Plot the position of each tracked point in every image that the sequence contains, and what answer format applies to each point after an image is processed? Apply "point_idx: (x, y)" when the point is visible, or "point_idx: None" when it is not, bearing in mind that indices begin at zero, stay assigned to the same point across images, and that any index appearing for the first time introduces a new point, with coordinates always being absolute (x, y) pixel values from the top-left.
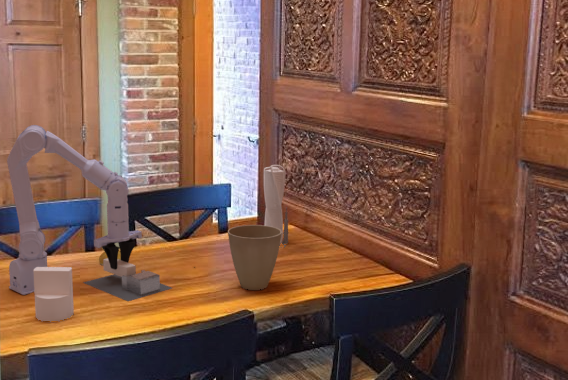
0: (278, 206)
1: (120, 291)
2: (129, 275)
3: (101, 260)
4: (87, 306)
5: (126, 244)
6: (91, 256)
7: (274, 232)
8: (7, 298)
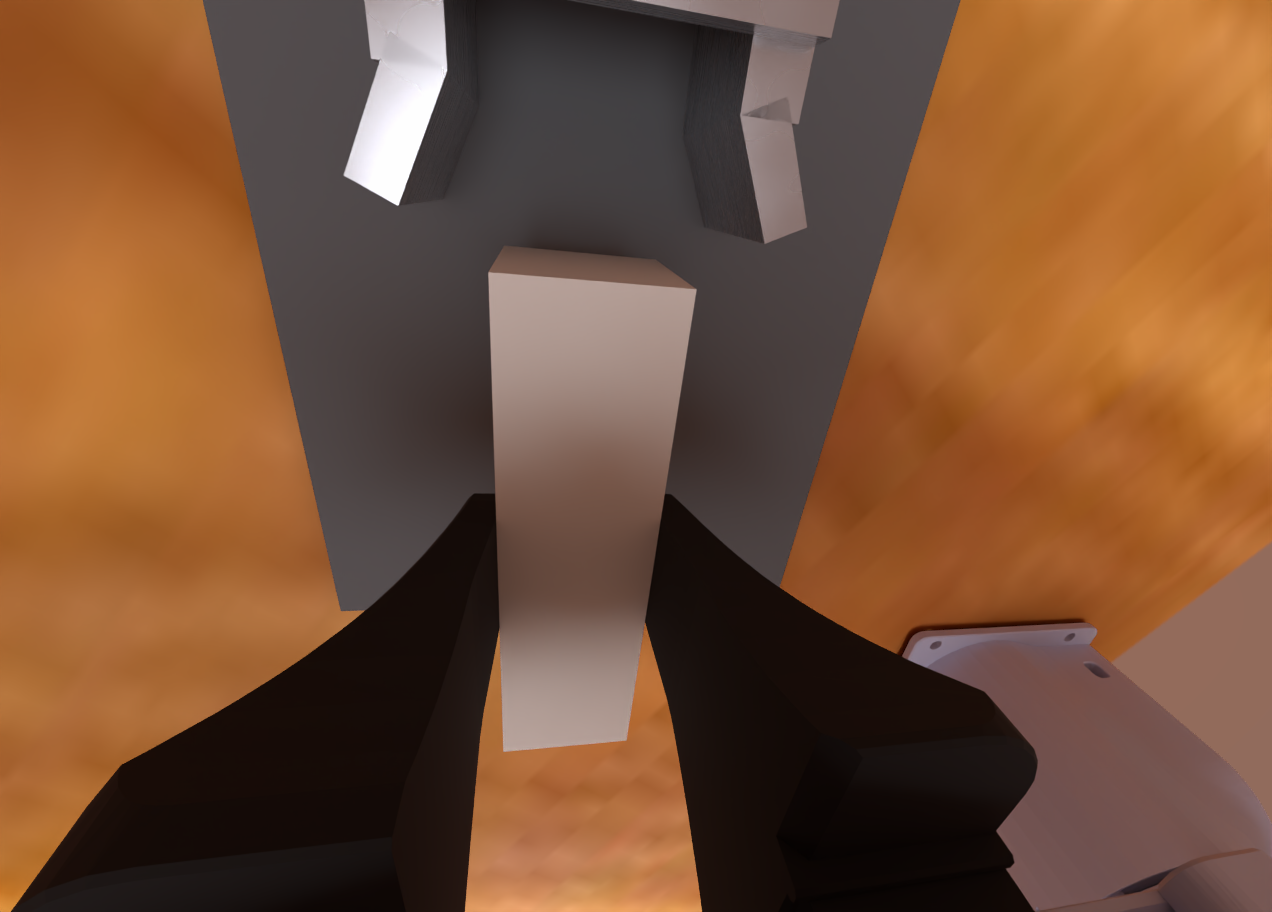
0: None
1: None
2: (617, 261)
3: None
4: (1211, 130)
5: (426, 858)
6: None
7: None
8: (1141, 630)
